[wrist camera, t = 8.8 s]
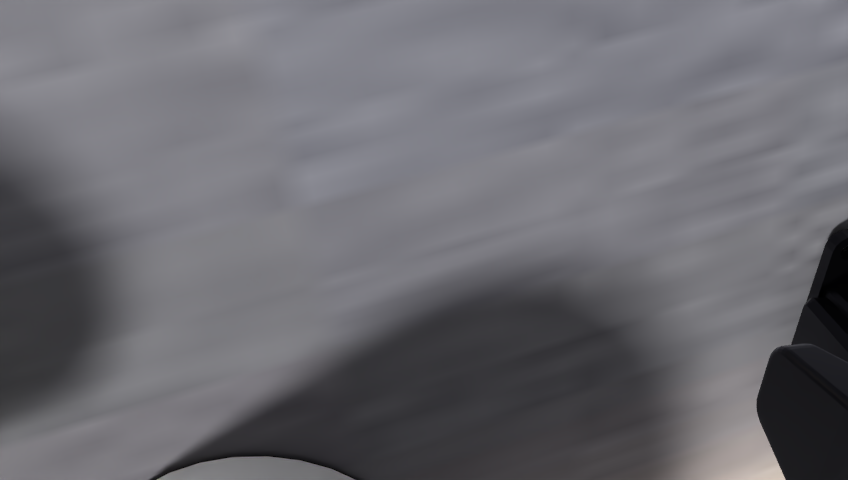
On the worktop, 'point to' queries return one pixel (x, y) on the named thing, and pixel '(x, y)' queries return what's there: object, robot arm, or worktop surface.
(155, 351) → the worktop surface
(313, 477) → the toilet tissue
